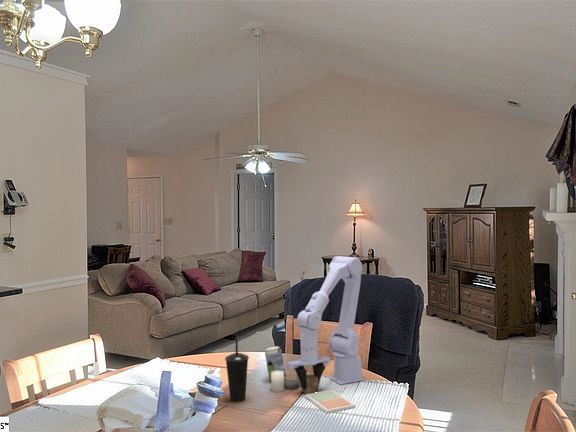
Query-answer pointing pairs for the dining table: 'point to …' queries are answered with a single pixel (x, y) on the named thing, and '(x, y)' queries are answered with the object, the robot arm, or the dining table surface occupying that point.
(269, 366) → the beverage can
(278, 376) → the ceramic cylinder
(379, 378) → the dining table surface
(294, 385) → the rubber puck
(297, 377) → the oak cube
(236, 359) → the drinking cup
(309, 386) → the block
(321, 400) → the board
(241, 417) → the dining table surface
